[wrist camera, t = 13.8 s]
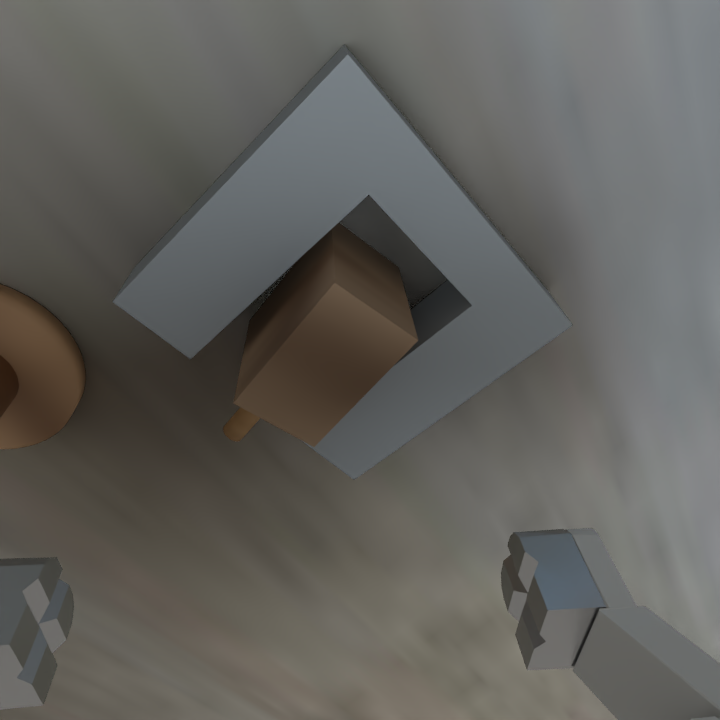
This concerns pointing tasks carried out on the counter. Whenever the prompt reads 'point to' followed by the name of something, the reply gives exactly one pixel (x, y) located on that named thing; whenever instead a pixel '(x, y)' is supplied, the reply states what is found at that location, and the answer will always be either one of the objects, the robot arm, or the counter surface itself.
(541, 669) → the robot arm
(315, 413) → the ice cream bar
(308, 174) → the notch board
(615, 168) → the counter surface
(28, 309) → the bobbin
